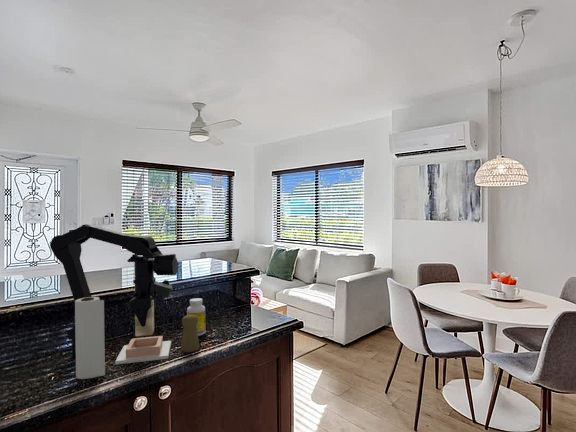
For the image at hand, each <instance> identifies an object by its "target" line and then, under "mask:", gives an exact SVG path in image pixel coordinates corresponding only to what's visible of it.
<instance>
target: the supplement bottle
mask: <svg viewBox="0 0 576 432" xmlns="http://www.w3.org/2000/svg"><path fill="white" fill-rule="evenodd" d="M186 315H196V316H197V318H198V323H197V325H196V326H197V333H198V337H200V336H203V335H205V334H206V328H207V327H206V326H207V325H206V324H207V323H206V306H205V305H203V298H199V297H197V298H190V299H189V306H188V307H187V308H186Z"/></svg>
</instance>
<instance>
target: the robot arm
mask: <svg viewBox="0 0 576 432" xmlns="http://www.w3.org/2000/svg"><path fill="white" fill-rule="evenodd" d="M90 239H94V240H97V241H100V242H104V243H108V244H111V245H114V246H118V247H121V248H124V249H125V250H126V251H128V252H129V253H132V254H131V256H130V258H128V259H127V262H128V263H133V265H134V279H133V281H132V282H133V283H132V284H134V292H133V297H132V298H131V300H129V302H128V310H132V311H133V313H134V316H135V315H136V317H137V319H138V321H139V322H140V324H141V326H142V327H143V326H145V325H146V319H147V314H148V310H149V309H150V308H151V307H152V306H153V304H152V300H154V302H155V301H156V299H157V296H161V297H163V298H167V299H168V298H169V297H170V294H171V292H172V289H173V285H172V284H170V280H168V279H164V280H163V281H162V282H161V281H160V282H159V281H156V277H155V274H156V276H177V274H178V271H179V263H178V258H177V254H175V253H171V254H163V253H162V251H161V250H160V249H159V248H158V247H157V244H156V241H155V239H154V238H153V237H152V236H148V235H138V234H137V235H136V234H127V233H123V232H120V231H116V230H113V229H109V228H105V227H102V226H97V225H95V224H93V223H91V224H89V223H88V224H81V225H80V226H79V227H77V228H76V229H73V230H70V231H68V232H66V233H64V234H58V235H55V236H54V237H53V238H52V239H51V241H50V242H49V247H50V249H51V251H52V253H53V255H54V257H55V258H56V259H57V260H58V261H59V262H60V263H61V264H62V265H63V266H62V267H63V269H64V271H65V272H64V273H65V276H66V279H67V283H68V285H69V289H70V291H71V295H72V298H73V302H75V300H77V299H81V298H87V297H93V296H92V293H91V290H90V286H89V284H88V281H87V277H86V275H85V272H84V268H83V265H82V262H81V256H82V244H84V243H86V242H87V241H88V240H90ZM154 296H155V297H154ZM105 315H106V312H104V316H105ZM73 319H74V321H75V314H74V315H73ZM66 335H67V338H68V340H71V355H70V357H69V359H76V337H75V325H74V326H72V328H70V330H69V331H67V333H66Z"/></svg>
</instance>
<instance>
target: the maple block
mask: <svg viewBox="0 0 576 432" xmlns="http://www.w3.org/2000/svg"><path fill="white" fill-rule="evenodd" d="M152 304H153V306H152V307H151V308H150V309H149V310H148V314H147V319H146V325H145V326H143V327H142V326H141V324H140V322H139V321H138V319H137V317H136V315H135V314H134V333H135V334H134V336H135V337H144V336H152V335H153V334H154V332H155V301H154V300H152Z"/></svg>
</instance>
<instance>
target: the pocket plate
mask: <svg viewBox="0 0 576 432" xmlns="http://www.w3.org/2000/svg"><path fill="white" fill-rule="evenodd" d="M171 346H172V340H164V337H163V335H157V336H156V335H155V336H148V337H135V338H131V339H130V341H129V343H128V344H126V345H125V344H124V345H123V347H122V349H121V350H120V352H119V354H118V356H116V357H117V358H116V360H115V361H114V364H115V365H123V364H132V363H133V364H134V363H139V362H140V363H141V362H142V363H143V362H149V361H150V362H151V361H152V362H153V361H160V360H167V359H169V357H170V351H171Z"/></svg>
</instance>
